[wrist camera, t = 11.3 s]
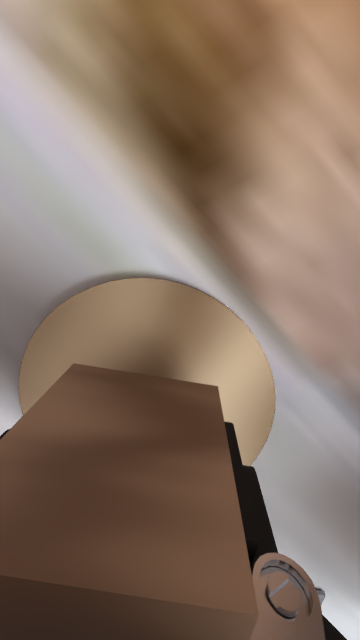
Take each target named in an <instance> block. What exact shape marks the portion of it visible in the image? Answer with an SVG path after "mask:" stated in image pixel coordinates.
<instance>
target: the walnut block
mask: <svg viewBox="0 0 360 640" xmlns="http://www.w3.org/2000/svg"><path fill="white" fill-rule="evenodd" d="M258 617H259V613H258V607H257V601H256V596H255V590H254V585H253V579H252V574H251V568H250V562H249V557H248V551H247V546H246V540H245V534H244V529H243V523H242V518H241V512H240V507H239V501H238V495H237V490H236V484H235V479H234V473H233V468H232V462H231V456H230V451H229V445H228V440H227V434H226V428H225V423H224V417H223V412H222V406H221V401H220V395H219V389H218V386H214V385H208V384H201V383H195V382H189V381H182V380H176V379H170V378H163V377H157V376H151V375H145V374H138V373H132V372H126V371H119V370H113V369H107V368H100V367H94V366H88V365H81V364H75V363H73V364H72V365H71V366H70V367H69V369H68V370H67V371H66V372H65V373H64V374H63V375H62V376H61V377H60V378H59V379H58V380H57V381H56V382H55V383H54V384H53V385H52V386H51V387H50V388H49V389H48V390H47V391H46V393H45V394H44V395H43V396H42V397H41V398H40V399H39V400H38V401H37V402H36V403H35V404H34V405H33V406H32V407H31V408H30V409H29V410H28V411H27V412H26V413H25V414H24V415H23V416H22V418H21V419H20V420H19V421H18V422H17V423H16V424H15V425H14V426H13V427H12V428H11V429H10V430H9V431H8V432H7V433H6V434H5V435H4V436H3V437H2V438H1V439H0V640H250V639H251V636H252V633H253V631H254V628H255V625H256V622H257V619H258Z"/></svg>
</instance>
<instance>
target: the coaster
mask: <svg viewBox="0 0 360 640" xmlns="http://www.w3.org/2000/svg"><path fill="white" fill-rule="evenodd" d="M73 363H75V364H81V365H88V366H94V367H100V368H107V369H113V370H119V371H126V372H132V373H138V374H145V375H151V376H157V377H163V378H170V379H176V380H182V381H189V382H195V383H201V384H208V385H214V386H218V389H219V395H220V401H221V406H222V412H223V417H224V422H231V423H233V425H234V429H235V433H236V438H237V442H238V447H239V451H240V456H241V460H242V464H243V465H246V466H250V465H251V464H252V463H253V461H254V460H255V459H256V457H257V456H258V455H259V453H260V452H261V450H262V448H263V446H264V444H265V443H266V441H267V438H268V435H269V433H270V430H271V427H272V423H273V418H274V413H275V387H274V380H273V376H272V372H271V368H270V365H269V363H268V360H267V358H266V356H265V353H264V351H263V349H262V348H261V346H260V344H259V343H258V341H257V339H256V338H255V336H254V335H253V333H252V332H251V331H250V330H249V328H248V327H247V326H246V325H245V323H244V322H243V321H242V320H241V319H240V318H239V317H238V316H237V315H236V314H235V313H234V312H233V311H231V310H230V309H229V308H228V307H226V306H225V305H224V304H222V303H221V302H219V301H218V300H217V299H215V298H213V297H211V296H209V295H208V294H206V293H204V292H202V291H200V290H198V289H195V288H192V287H190V286H187V285H184V284H181V283H177V282H173V281H168V280H164V279H153V278H126V279H121V280H115V281H109V282H106V283H103V284H100V285H97V286H93V287H91V288H89V289H87V290H85V291H83V292H81V293H78V294H76V295H74V296H72V297H71V298H69V299H68V300H66V301H65V302H63V303H62V304H61V305H59V306H58V307H57V308H56V309H54V310H53V311H52V312H51V313H50V314H49V315H48V316H47V317H46V318H45V319H44V320H43V322H42V323H41V324H40V325H39V327H38V328H37V329H36V331H35V332H34V334H33V336H32V338H31V339H30V341H29V343H28V345H27V348H26V351H25V353H24V356H23V359H22V363H21V368H20V374H19V396H20V404H21V408H22V413H23V415H24V414H25V413H26V412H27V411H28V410H29V409H30V408H31V407H32V406H33V405H34V404H35V403H36V402H37V401H38V400H39V399H40V398H41V397H42V396H43V395H44V394H45V393H46V391H47V390H48V389H49V388H50V387H51V386H52V385H53V384H54V383H55V382H56V381H57V380H58V379H59V378H60V377H61V376H62V375H63V374H64V373H65V372H66V371H67V370H68V369H69V367H70V366H71V365H72V364H73Z"/></svg>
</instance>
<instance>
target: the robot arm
mask: <svg viewBox="0 0 360 640" xmlns="http://www.w3.org/2000/svg"><path fill="white" fill-rule="evenodd" d="M224 423H225V428H226V434H227V440H228V445H229V451H230V456H231V462H232V468H233V473H234V479H235V484H236V490H237V495H238V501H239V507H240V512H241V518H242V523H243V529H244V534H245V540H246V546H247V551H248V557H249V562H250V568H251V574H252V579H253V585H254V590H255V596H256V601H257V607H258V613H259V617H258V619H257V622H256V625H255V628H254V631H253V633H252V636H251V639H250V640H347V639H346V638H345V637H344V636H343V635H342V634H341V633H340V632H339V631H338V630H337V629H336V628H335V627H334V626H333V625H332V624H331V623H330V622H329V621H328V620H327V619H326V618H325V617H324V616H323V615H322V611H321V604H320V600H319V596H318V593H317V590H316V588H315V586H314V584H313V582H312V580H311V579H310V578H309V576H308V575H307V574H306V572H305V571H304V570H303V569H302V568H301V567H300V566H299V565H298V564H297V563H296V562H295V561H293V560H292V559H290V558H288V557H287V556H285V555H282V554H278V551H277V547H276V544H275V540H274V536H273V533H272V529H271V525H270V522H269V518H268V515H267V511H266V507H265V504H264V500H263V496H262V493H261V489H260V485H259V482H258V478H257V475H256V471H255V469H254V468H253V467H252V466H246V465H243V464H242V460H241V456H240V451H239V447H238V442H237V438H236V433H235V429H234V425H233V423H231V422H224ZM9 430H10V429H8V430H7V431H5V432H4V433H3V434H2V435H1V436H0V439H1V438H2V437H3V436H4V435H5V434H6V433H7V432H8V431H9Z"/></svg>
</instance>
